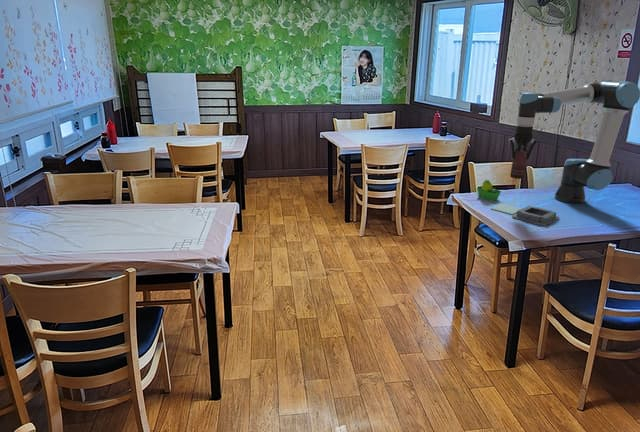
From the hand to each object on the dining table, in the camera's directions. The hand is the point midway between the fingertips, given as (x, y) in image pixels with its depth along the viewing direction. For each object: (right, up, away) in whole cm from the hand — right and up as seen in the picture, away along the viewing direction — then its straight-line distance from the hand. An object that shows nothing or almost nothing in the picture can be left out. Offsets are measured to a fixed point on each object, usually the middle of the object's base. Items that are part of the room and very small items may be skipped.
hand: (517, 172), depth 228 cm
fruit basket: (-5, -12, +27) cm, 30 cm away
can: (0, -3, +1) cm, 3 cm away
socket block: (+7, -23, -3) cm, 24 cm away
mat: (-2, -18, +9) cm, 21 cm away
